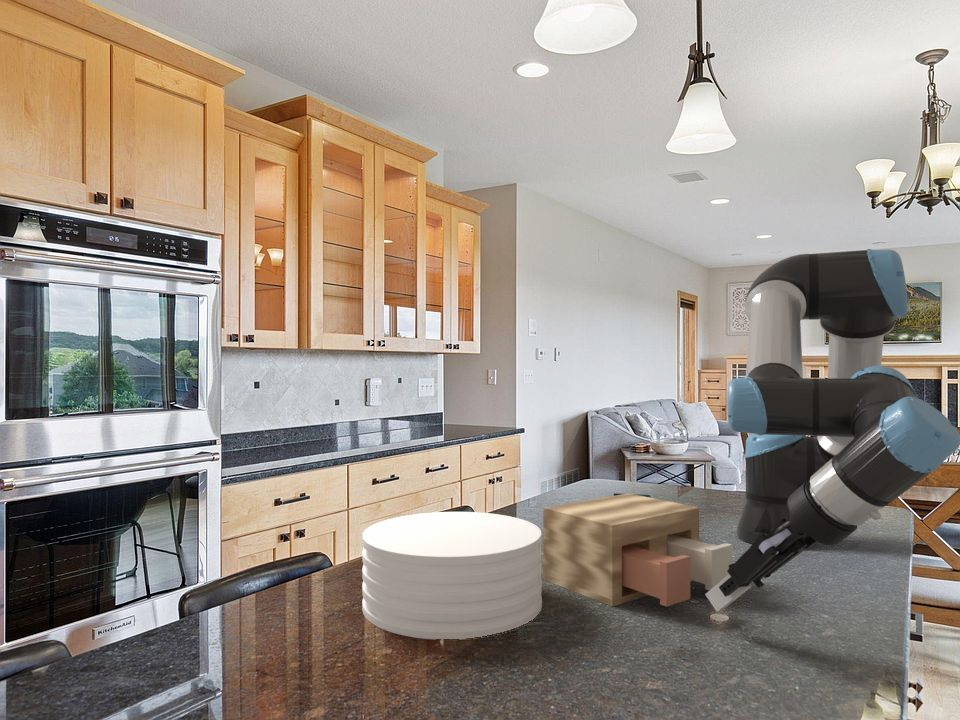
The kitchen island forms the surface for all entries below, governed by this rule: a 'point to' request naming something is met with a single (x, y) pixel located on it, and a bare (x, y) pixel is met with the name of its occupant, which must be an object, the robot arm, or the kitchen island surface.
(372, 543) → the plate stack
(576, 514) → the wooden box
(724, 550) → the cream plug
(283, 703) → the kitchen island surface
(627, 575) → the rust plug
